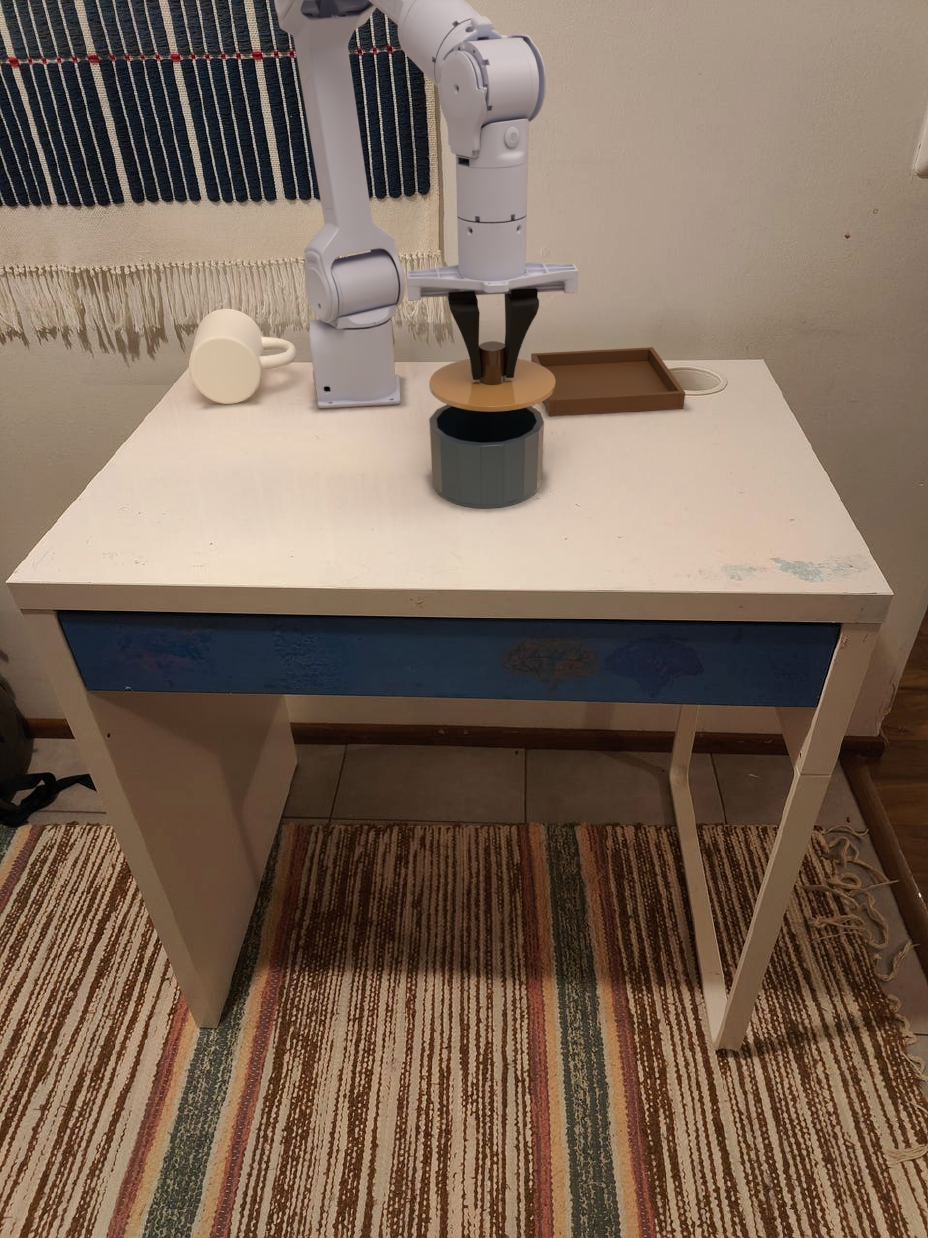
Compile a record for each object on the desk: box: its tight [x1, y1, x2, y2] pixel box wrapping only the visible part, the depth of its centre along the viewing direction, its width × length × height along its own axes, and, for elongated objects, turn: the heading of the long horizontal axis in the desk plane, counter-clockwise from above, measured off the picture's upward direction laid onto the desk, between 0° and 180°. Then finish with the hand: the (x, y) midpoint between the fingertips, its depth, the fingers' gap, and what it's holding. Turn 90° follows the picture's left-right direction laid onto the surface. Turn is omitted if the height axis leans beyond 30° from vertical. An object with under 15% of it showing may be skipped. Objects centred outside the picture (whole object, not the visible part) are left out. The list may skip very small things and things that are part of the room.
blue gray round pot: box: [428, 404, 545, 509], centre depth 82 cm, size 11×11×6 cm
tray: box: [530, 346, 686, 417], centre depth 101 cm, size 15×14×2 cm
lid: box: [429, 340, 556, 412], centre depth 78 cm, size 12×12×4 cm
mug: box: [188, 308, 297, 405], centre depth 102 cm, size 12×10×8 cm
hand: (492, 374), depth 79 cm, fingers closed on lid, 2 cm apart
